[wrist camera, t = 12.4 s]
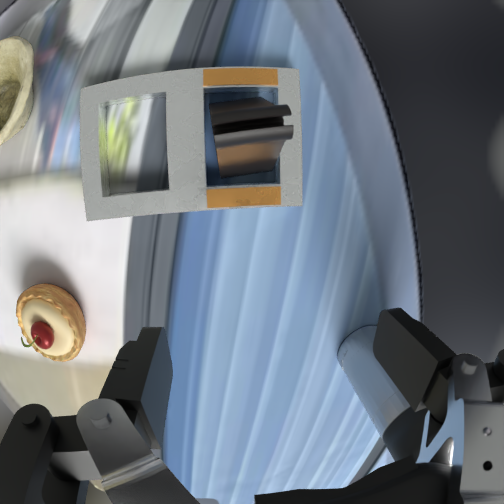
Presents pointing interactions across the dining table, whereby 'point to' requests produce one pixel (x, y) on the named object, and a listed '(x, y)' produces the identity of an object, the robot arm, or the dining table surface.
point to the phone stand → (248, 135)
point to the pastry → (51, 322)
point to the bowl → (15, 85)
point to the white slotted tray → (187, 142)
